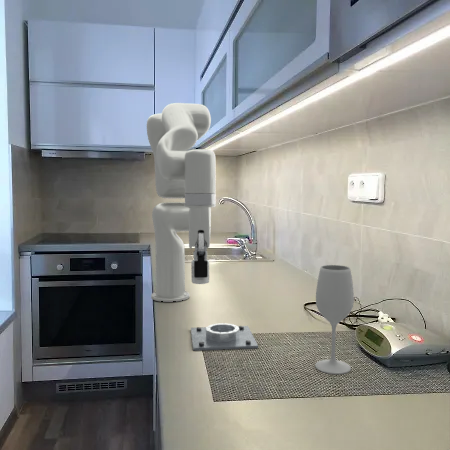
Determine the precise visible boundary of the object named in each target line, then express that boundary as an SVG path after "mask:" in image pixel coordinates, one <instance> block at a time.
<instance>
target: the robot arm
mask: <svg viewBox="0 0 450 450" xmlns="http://www.w3.org/2000/svg"><path fill="white" fill-rule="evenodd" d="M210 112H211V111H210V110H209V108H208V107H207V106H205V105H204V104H201V103H186V102H174V103H169V104H167V105H165V107H164V108H163V109H162V111H161V112H160V113H155V114H152V115H150V116H149V117H148V118H147V121H146V135H147V136H146V137H147V140H148V143H149V146H150V148H151V151H152V154H153V157H154V158H153V159H154V178H155V179H154V181H155V191H156V194H157V196H158V197H159V198H162V199H184V202H180V201H176V202H174V201H173V202H171V201H169V202H160V203H158V204H156V205H154V207H153V209H152V212H151V213H152V214H151V219H152V224H153V225H152V226H153V231H154V242H155V243H154V245H155V247H154V248H155V292H152V293H151V295H150V297H151V298H150V299H152V300H153V301H156V302H161V301H163V303H172V302H173V301H176V302H183V301H187V300H188V299H190V293H189V291H186V287H185V284H186V283H185V282H186V281H185V280H186V275H185V274H186V271H185V270H186V269H185V268H186V267H185V266H186V264H185V261H186V259H185V253H186V251H185V243H184V241H183V239H182V238H181V237H180V236H179V235H178V234H177V233H179V232H188V248H189V249H191V250H192V249H193V247H194V251H195V261H194V277H195V278H206V277H207V276H208V261H209V260H208V249H209V248H210V243H211V230H212V229H211V227H212V226H211V225H212V221H211V220H212V213H211V212H212V208H216V206H217V201H216V200H217V199H216V197H217V196H216V194H217V191H216V189H217V188H216V187H217V185H216V184H217V183H216V182H217V180H216V179H217V177H216V175H217V173H216V172H217V171H216V170H217V169H216V168H217V165H216V164H217V163H216V154H215V152H214V150H211V149H205V148H204V149H203V148H198V149H192V148H193V147H194V146H196V144H197V141H199V140H200V139H201V138H203V136H205V135H206V134H207V133H208V132H209V130H210V127H211V124H212V123H211V122H212V117H211V114H210ZM197 251H198V252H197ZM197 256H198V258H197ZM197 260H198V261H197ZM207 260H208V261H207ZM182 300H183V301H182ZM173 303H174V302H173Z"/></svg>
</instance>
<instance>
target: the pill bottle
mask: <svg viewBox="0 0 450 450" xmlns="http://www.w3.org/2000/svg"><path fill="white" fill-rule="evenodd" d="M197 252H198V251H197ZM192 257H193V259H192V260H191V264H190V265H191V270H190V271H191V283H192V284H195V285H205V284H209V282H210V261H209V259H207V261H208V276H207V277H206V278H195V277H194V261H195V250H194V251H193V255H192ZM197 258H198V256H197ZM197 261H198V260H197Z"/></svg>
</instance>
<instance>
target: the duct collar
mask: <svg viewBox="0 0 450 450" xmlns="http://www.w3.org/2000/svg"><path fill="white" fill-rule="evenodd" d="M238 326H239V325H236V324H234V323H225V322H221V323H212V324H209V325H208V326H205V327H206V338H207V339H209V340H211V341H217V342H229V341H233V340H236V339H238V338H239V327H238Z"/></svg>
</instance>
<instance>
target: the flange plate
mask: <svg viewBox="0 0 450 450" xmlns="http://www.w3.org/2000/svg"><path fill="white" fill-rule="evenodd" d="M237 326H238V327H239V338H238V339H236V340H233V341H229V342H217V341H211V340H209V339H207V338H206V327H207V326H203V327H200V326H199V327H190V333H191V341H192V351H218V350H219V351H220V350H221V351H222V350H223V349H225V350H245V349H249V350H250V349H258V348H259V345H258V343H257V341H256V339H255V336H254V335H253V333H252V331H251V329H250V327H249V326H248V325H237ZM239 348H241V349H239ZM242 348H243V349H242Z"/></svg>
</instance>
